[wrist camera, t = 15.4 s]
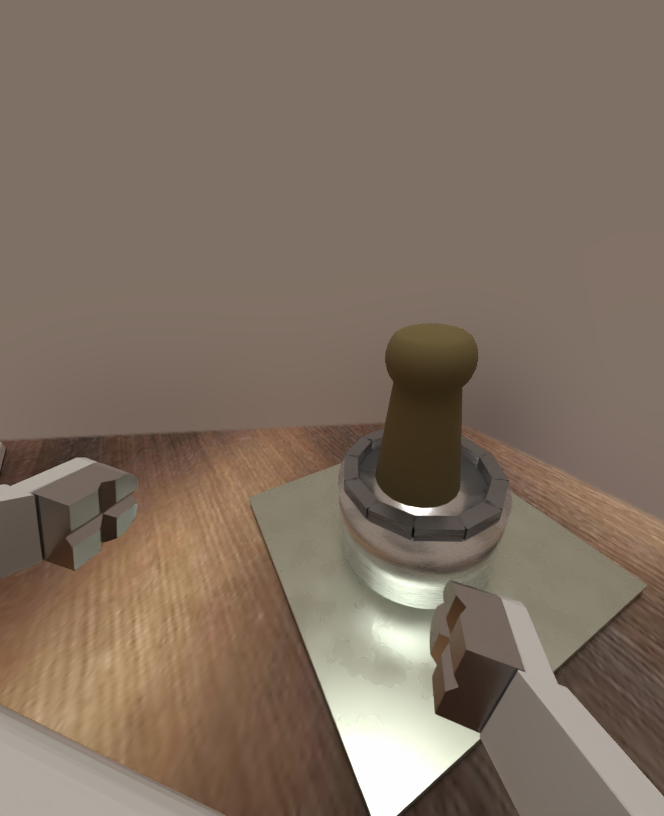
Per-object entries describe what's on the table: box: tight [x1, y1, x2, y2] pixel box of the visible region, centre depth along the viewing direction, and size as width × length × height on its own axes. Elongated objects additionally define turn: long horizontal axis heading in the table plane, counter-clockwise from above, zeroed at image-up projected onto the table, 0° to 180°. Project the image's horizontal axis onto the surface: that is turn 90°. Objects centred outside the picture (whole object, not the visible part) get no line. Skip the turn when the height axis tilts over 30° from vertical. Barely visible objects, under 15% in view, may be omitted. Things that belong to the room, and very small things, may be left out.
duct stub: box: [249, 429, 647, 816], centre depth 25 cm, size 22×22×8 cm
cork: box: [375, 324, 478, 508], centre depth 20 cm, size 6×6×11 cm
